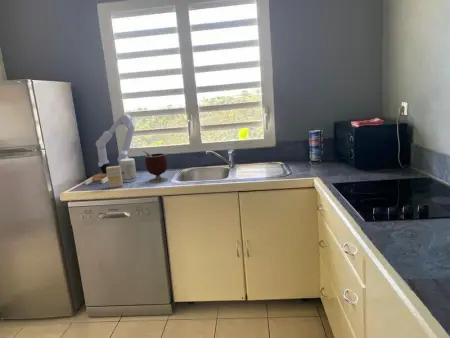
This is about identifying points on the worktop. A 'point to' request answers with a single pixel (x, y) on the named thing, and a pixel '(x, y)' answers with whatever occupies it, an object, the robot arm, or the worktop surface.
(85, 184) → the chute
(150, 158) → the mate gourd
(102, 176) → the block
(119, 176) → the supplement box
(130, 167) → the supplement tub
